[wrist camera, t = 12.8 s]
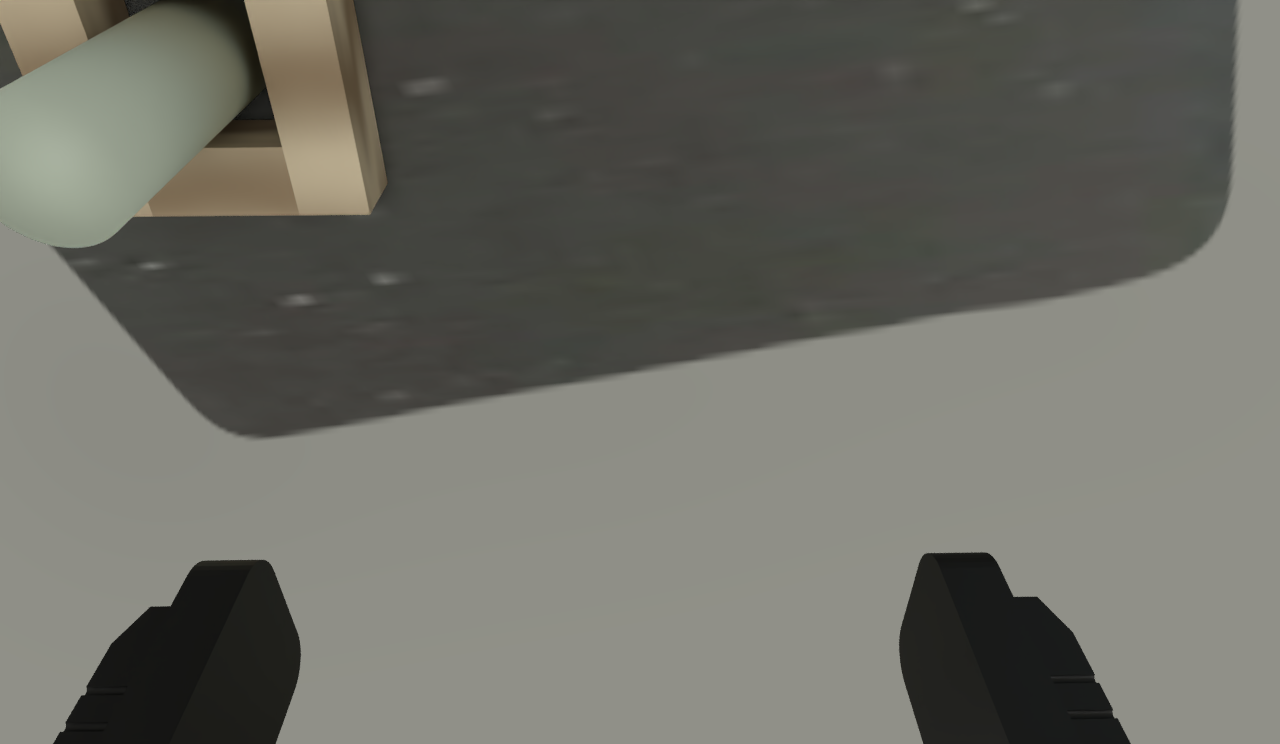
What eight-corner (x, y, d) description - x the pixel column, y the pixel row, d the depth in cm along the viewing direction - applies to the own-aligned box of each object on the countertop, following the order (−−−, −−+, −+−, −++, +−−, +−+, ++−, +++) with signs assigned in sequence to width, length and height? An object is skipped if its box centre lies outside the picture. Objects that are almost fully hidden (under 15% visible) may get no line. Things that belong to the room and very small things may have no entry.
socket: (1, -123, 28) (-57, -112, 26) (330, -124, 28) (302, -114, 26) (120, 185, 35) (82, 217, 32) (387, 183, 35) (369, 214, 32)
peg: (139, -14, 30) (-82, 97, 21) (257, -16, 30) (91, 93, 21) (179, 102, 33) (-2, 249, 23) (287, 100, 33) (152, 246, 23)
